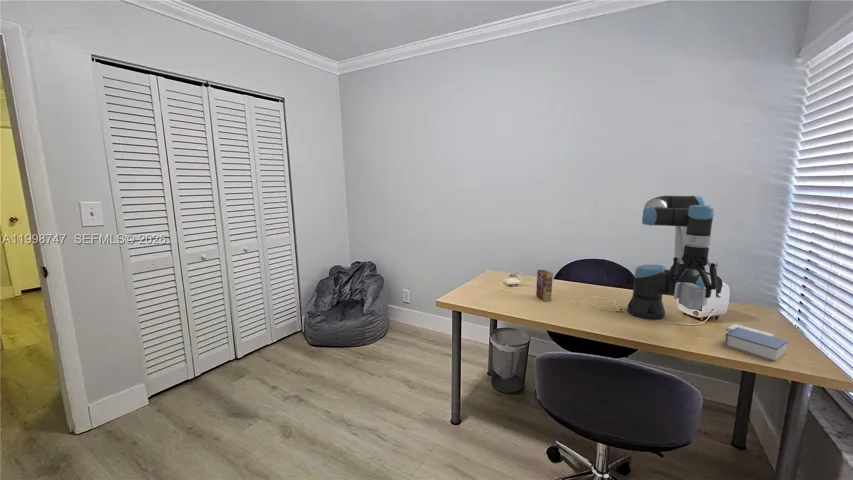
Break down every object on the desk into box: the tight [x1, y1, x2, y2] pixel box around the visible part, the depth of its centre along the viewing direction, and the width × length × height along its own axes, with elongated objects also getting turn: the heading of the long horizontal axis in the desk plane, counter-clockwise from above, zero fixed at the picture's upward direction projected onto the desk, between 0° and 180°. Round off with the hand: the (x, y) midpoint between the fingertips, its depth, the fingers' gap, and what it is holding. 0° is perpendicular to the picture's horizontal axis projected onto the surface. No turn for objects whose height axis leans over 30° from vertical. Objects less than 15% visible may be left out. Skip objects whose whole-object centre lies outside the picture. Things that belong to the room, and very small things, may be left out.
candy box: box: [535, 269, 554, 302], centre depth 183 cm, size 9×4×15 cm, turn 13°
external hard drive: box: [726, 323, 775, 337], centre depth 140 cm, size 2×8×12 cm
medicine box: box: [678, 283, 703, 311], centre depth 135 cm, size 8×4×9 cm, turn 168°
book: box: [724, 327, 788, 362], centre depth 126 cm, size 14×11×5 cm
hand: (689, 301), depth 135 cm, fingers closed on medicine box, 9 cm apart
